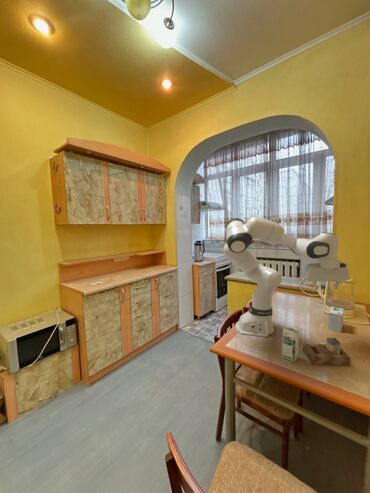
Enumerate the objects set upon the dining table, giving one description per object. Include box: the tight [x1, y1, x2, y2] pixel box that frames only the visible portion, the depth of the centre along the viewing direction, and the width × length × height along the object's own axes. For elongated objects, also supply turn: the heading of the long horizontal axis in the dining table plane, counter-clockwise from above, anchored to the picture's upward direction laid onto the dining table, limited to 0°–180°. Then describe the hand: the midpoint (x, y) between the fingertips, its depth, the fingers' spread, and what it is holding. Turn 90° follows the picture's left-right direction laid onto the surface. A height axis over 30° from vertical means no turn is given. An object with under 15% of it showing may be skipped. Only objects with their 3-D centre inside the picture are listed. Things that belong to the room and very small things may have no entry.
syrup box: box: [281, 325, 300, 363], centre depth 105 cm, size 6×6×14 cm
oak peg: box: [325, 337, 342, 354], centre depth 104 cm, size 4×4×9 cm
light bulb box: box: [327, 306, 345, 333], centre depth 131 cm, size 11×7×11 cm, turn 141°
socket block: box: [302, 343, 351, 366], centre depth 104 cm, size 16×10×4 cm, turn 84°
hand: (325, 288), depth 117 cm, fingers open, 8 cm apart
